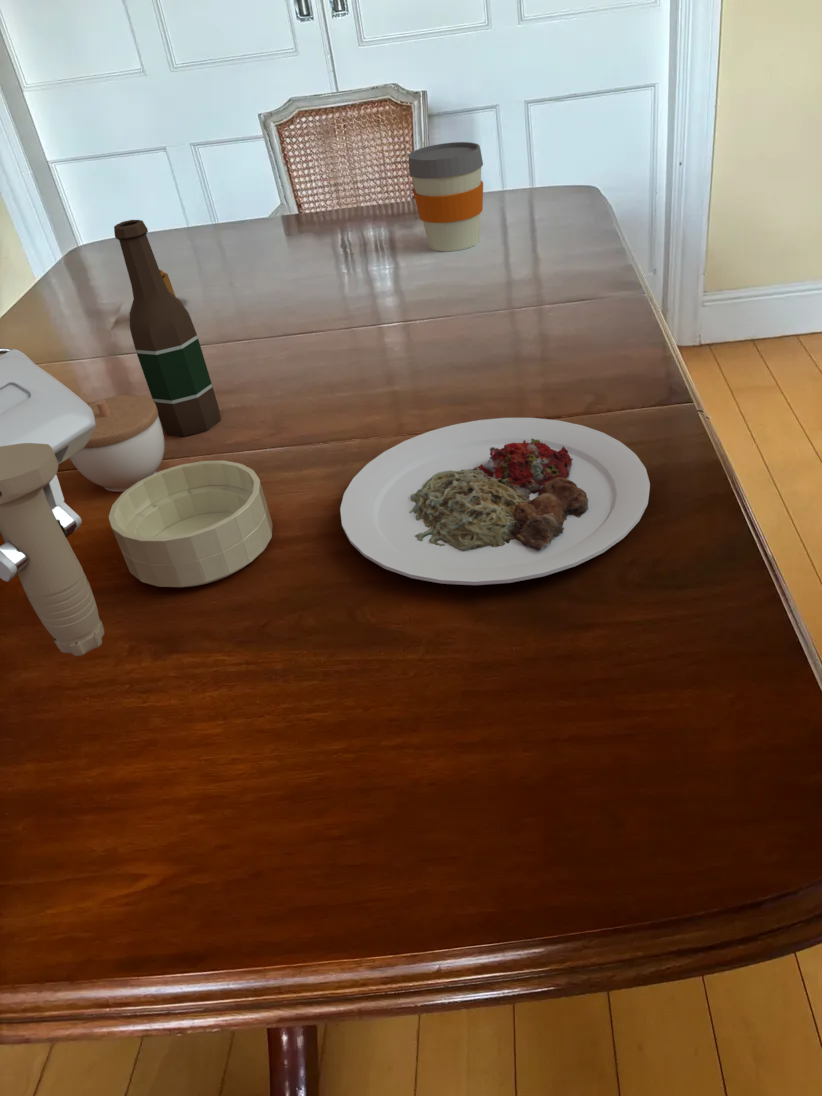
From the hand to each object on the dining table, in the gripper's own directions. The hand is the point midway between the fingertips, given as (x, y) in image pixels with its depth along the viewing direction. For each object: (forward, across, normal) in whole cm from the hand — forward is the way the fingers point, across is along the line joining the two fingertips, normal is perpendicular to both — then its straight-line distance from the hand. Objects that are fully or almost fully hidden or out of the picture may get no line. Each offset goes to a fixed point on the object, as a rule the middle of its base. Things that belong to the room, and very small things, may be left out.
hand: (45, 551), depth 60 cm
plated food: (+22, -37, -1) cm, 43 cm away
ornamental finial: (-30, -74, -55) cm, 97 cm away
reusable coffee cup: (-7, -114, -30) cm, 119 cm away
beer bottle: (-9, -44, -33) cm, 56 cm away
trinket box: (-8, -31, -32) cm, 45 cm away
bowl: (+5, -22, -18) cm, 29 cm away
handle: (+6, 0, -6) cm, 9 cm away
